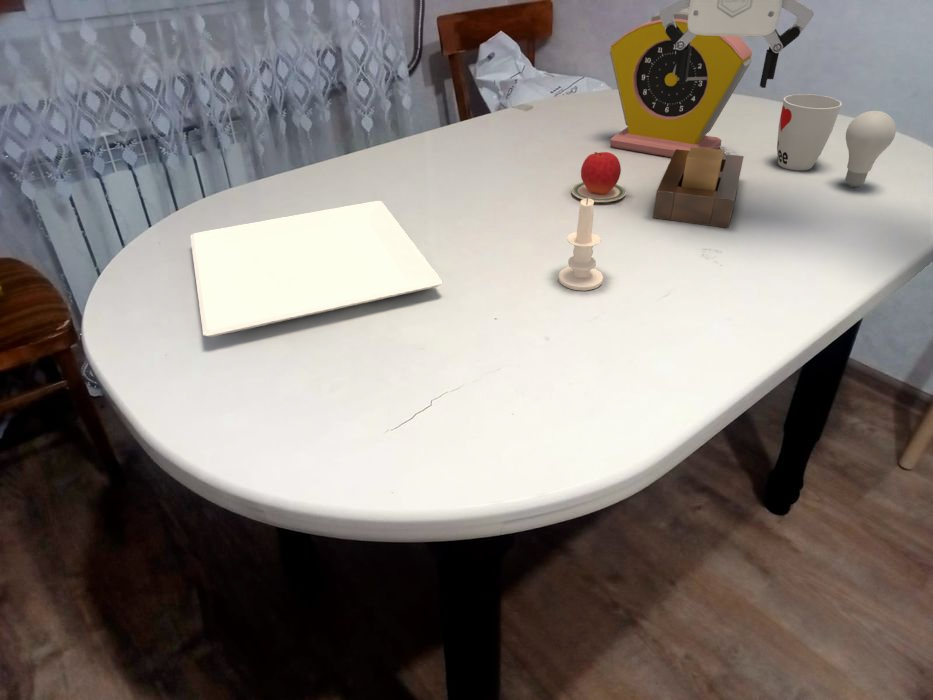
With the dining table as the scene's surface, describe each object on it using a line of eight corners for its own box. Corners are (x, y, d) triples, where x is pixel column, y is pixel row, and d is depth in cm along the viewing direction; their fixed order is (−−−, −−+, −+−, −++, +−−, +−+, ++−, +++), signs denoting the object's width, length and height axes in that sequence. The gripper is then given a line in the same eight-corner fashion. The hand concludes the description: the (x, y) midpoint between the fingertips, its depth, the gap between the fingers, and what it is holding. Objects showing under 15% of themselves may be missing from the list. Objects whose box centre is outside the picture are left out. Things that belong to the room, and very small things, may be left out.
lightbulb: (855, 197, 95) (881, 120, 89) (821, 183, 100) (843, 109, 93) (885, 190, 97) (912, 113, 91) (850, 176, 102) (874, 103, 95)
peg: (712, 205, 94) (724, 150, 90) (709, 217, 91) (721, 160, 86) (681, 201, 96) (690, 146, 91) (677, 212, 92) (686, 157, 88)
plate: (193, 246, 88) (189, 232, 86) (382, 212, 95) (380, 198, 94) (208, 351, 68) (202, 334, 67) (444, 297, 75) (444, 281, 74)
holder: (738, 181, 101) (743, 155, 99) (728, 228, 88) (734, 200, 86) (671, 173, 104) (675, 149, 102) (652, 217, 91) (656, 190, 89)
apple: (563, 199, 97) (566, 156, 93) (581, 181, 103) (585, 139, 99) (616, 208, 94) (621, 164, 90) (632, 189, 100) (637, 146, 96)
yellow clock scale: (594, 145, 116) (606, 9, 104) (615, 130, 123) (629, 1, 110) (720, 167, 106) (750, 20, 94) (736, 150, 112) (766, 10, 100)
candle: (593, 294, 75) (602, 209, 69) (551, 284, 77) (556, 201, 71) (609, 274, 79) (618, 192, 73) (568, 265, 81) (574, 184, 75)
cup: (770, 153, 111) (786, 92, 105) (823, 160, 108) (842, 96, 102) (765, 169, 105) (781, 105, 99) (821, 177, 102) (841, 110, 96)
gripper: (664, -73, 74) (647, 87, 83) (836, -78, 68) (796, 94, 78) (674, -77, 79) (657, 73, 89) (834, -83, 73) (796, 79, 83)
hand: (722, 83), depth 83 cm, fingers open, 9 cm apart
